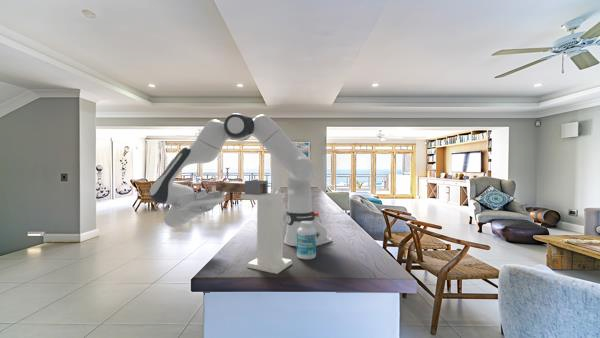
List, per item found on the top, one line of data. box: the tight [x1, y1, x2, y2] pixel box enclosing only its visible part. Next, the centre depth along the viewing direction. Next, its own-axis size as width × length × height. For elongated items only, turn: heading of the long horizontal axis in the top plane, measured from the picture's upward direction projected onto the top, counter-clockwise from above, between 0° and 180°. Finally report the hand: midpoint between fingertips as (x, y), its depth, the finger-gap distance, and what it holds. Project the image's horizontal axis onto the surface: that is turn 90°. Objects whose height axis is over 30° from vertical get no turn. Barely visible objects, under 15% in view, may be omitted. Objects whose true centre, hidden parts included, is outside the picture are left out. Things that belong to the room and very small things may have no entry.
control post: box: [240, 179, 293, 275], centre depth 96 cm, size 15×10×30 cm, turn 63°
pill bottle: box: [296, 221, 317, 260], centre depth 105 cm, size 8×7×14 cm
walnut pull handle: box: [215, 182, 263, 194], centre depth 101 cm, size 20×3×3 cm, turn 63°
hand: (215, 190), depth 106 cm, fingers open, 8 cm apart
